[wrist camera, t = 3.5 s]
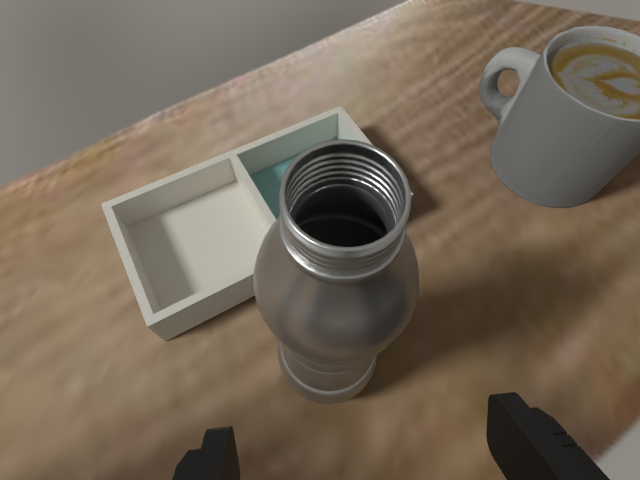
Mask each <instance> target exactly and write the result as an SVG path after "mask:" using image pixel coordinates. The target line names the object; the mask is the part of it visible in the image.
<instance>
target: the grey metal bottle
mask: <svg viewBox="0 0 640 480" xmlns="http://www.w3.org/2000/svg"><path fill="white" fill-rule="evenodd" d="M279 206H280V213H279V218H278V219H277V220H276V221H275V222H274V223H273V224H272V226H271V227H270V229H269V230H268V232H267V233H266V235H265V237H264V239H263V242H262V244H261V247H260V249H259V252H258V255H257V257H256V262H255V267H254V273H253V283H254V293H255V298H256V302H257V306H258V308H259V310H260V312H261V314H262V317H263V319H264V321H265V322H266V324H267V325H268V327H269V328H270V330H271V331H272V332H273V334H274V335H275V336H276V338H277V339H278V340H279V342H278V360H279V364H280V368H281V371H282V373H283V375H284V377H285V379H286V380H287V382H288V383H289V385H290V386H291V387H292V388H293V389H294V390H295V391H296V392H297V393H298V394H300V395H301V396H303V397H305V398H306V399H308V400H311V401H314V402H317V403H323V404H333V403H340V402H343V401H346V400H349V399H350V398H352V397H354V396H355V395H357V394H358V393H359V392H360V391H361V390H362V389H363V388H364V387H365V386H366V385H367V383H368V382H369V381H370V379H371V377H372V375H373V373H374V370H375V367H376V363H377V357H378V353H380V352H381V351H383V350H384V349H386V348H387V347H388V346H389V345H390V344H391V343H392V342H393V341H394V340H395V339H396V338H397V337H398V336H399V335H401V333H402V332H403V330H404V329H405V328H406V326H407V325H408V323H409V322H410V320H411V318H412V315H413V313H414V311H415V308H416V306H417V301H418V295H419V270H418V263H417V258H416V254H415V250H414V248H413V245H412V243H411V241H410V239H409V237H408V235H407V234H406V223H407V221H408V218H409V214H410V209H411V190H410V186H409V182H408V179H407V177H406V175H405V173H404V171H403V169H402V168H401V167H400V166H399V164H398V163H397V162H396V161H395V160H394V159H393V158H392V157H391V156H390V155H389V154H387V153H386V152H384V151H383V150H381V149H379V148H378V147H375V146H373V145H371V144H368V143H365V142H361V141H357V140H347V139H338V140H329V141H325V142H321V143H318V144H316V145H313V146H311V147H309V148H307V149H306V150H304V151H303V152H301V153H300V154H299V155H298V156H297V157H296V158H294V159H293V160H292V162H291V163H290V164H289V166H288V167H287V169H286V170H285V173H284V175H283V178H282V180H281V186H280V192H279Z"/></svg>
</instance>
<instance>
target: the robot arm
mask: <svg viewBox="0 0 640 480" xmlns="http://www.w3.org/2000/svg"><path fill="white" fill-rule="evenodd" d="M487 442H488V446H489V449H490V452H491V454H492V456H493V458H494V460H495V461H496V463H497V465H498V466H499V468H500V469H501V471H502V473H503V474H504V476H505V477H506V479H507V480H610V479H609V478H608V477H607V476H606V475H605V474H604V473H603V472H602V471H601V469H600V468H599V467H598V466H597V465H596V464H595V463H594V462H593V461H592V460H591V458H590V457H589V456H588V455H587V454H586V453H585V452H584V451H583V450H582V449H581V448H580V446H577V443H576V442H575V441H574V440H573V439H572V438H571V437H570V435H567V433H566V431H565V430H564V429H563V428H562V427H561V426H560V424H559V423H558V422H557V421H556V420H555V419H554V418H553V417H551V416H549V415H548V414H546V413H545V412H543V411H542V410H540V409H538V408H537V407H535V408H530V407H529V406H528V405H527V404H526V403H525V402H524V401H523V399H522V398H521V397H520V396H519V395H518V394H517V393H515V392H511V393H503V394H495V395H490V396H489V399H488V416H487ZM173 480H240V469H239V462H238V456H237V450H236V444H235V438H234V432H233V428H232V426H229V427H221V428H213V429H207V430H206V432H205V435H204V439H203V443H202V447H201V449H196V450H188V452H187V453H186V454H185V456H184V457H183V458H182V460H181V461H180V462H179V464H178V465H177V467H176V470H175V473H174V476H173Z"/></svg>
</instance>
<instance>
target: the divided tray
mask: <svg viewBox="0 0 640 480" xmlns="http://www.w3.org/2000/svg"><path fill="white" fill-rule="evenodd" d="M338 139H347V140H357V141H361V142H365V143H368V144H371V145H372V143H371V142H370V141H369V140H368V138H367V137H366V136H365V135H364V134H363V132H362V131H361V130H360V129H359V128H358V126H357V125H356V124H355V123H354V122H353V120H352V119H351V118H350V117H349V115H348V114H347V113H346V112H345V111H344V109H343V108H342V107H341V106H339V107H336V108H334V109H332V110H329V111H327V112H324V113H322V114H319V115H317V116H314V117H312V118H310V119H307V120H305V121H302V122H300V123H297V124H295V125H292V126H290V127H288V128H285V129H283V130H280V131H278V132H275V133H273V134H270V135H268V136H266V137H263V138H261V139H258V140H256V141H253V142H251V143H248V144H246V145H244V146H241V147H239V148H236V149H234V150H231V151H229V152H226V153H224V154H222V155H219V156H217V157H214V158H212V159H209V160H207V161H204V162H202V163H200V164H197V165H195V166H192V167H190V168H187V169H185V170H182V171H180V172H178V173H175V174H173V175H170V176H168V177H165V178H163V179H160V180H158V181H156V182H153V183H151V184H148V185H146V186H143V187H141V188H138V189H136V190H134V191H131V192H129V193H126V194H124V195H121V196H119V197H116V198H114V199H112V200H109V201H107V202H104V203H102V204H101V205H102V208H103V211H104V213H105V216H106V219H107V221H108V224H109V227H110V229H111V232H112V235H113V237H114V240H115V243H116V245H117V248H118V250H119V253H120V256H121V258H122V261H123V264H124V266H125V269H126V272H127V274H128V277H129V280H130V282H131V285H132V288H133V290H134V293H135V296H136V298H137V301H138V304H139V306H140V309H141V312H142V314H143V317H144V320H145V322H146V325H147V327H148V328H149V329H151V330H152V331H153V332H154V333H156V334H157V335H158V336H159V337H161V338H162V339H163V340H164V341H167V340H169V339H171V338H173V337H175V336H177V335H179V334H181V333H183V332H185V331H187V330H189V329H191V328H193V327H195V326H197V325H199V324H201V323H202V322H204V321H206V320H208V319H210V318H212V317H214V316H216V315H218V314H220V313H222V312H224V311H226V310H228V309H230V308H232V307H234V306H236V305H238V304H240V303H241V302H243V301H245V300H247V299H249V298H251V297H253V296H255V293H254V283H253V273H254V267H255V262H256V257H257V255H258V252H259V249H260V247H261V244H262V242H263V239H264V237H265V235H266V233H267V232H268V230H269V229H270V227H271V226H272V224H273V223H274V222H275V221H276V220H277V219H278V218H279V213H280V206H279V192H280V186H281V180H282V178H283V175H284V173H285V170H286V169H287V167H288V166H289V164H290V163H291V162H292V160H293V159H294V158H296V157H297V156H298V155H299V154H300V153H301V152H303V151H304V150H306V149H307V148H309V147H311V146H313V145H316V144H318V143H321V142H325V141H329V140H338ZM412 197H413V193H412V192H411V199H412Z"/></svg>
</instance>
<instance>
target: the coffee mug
mask: <svg viewBox="0 0 640 480" xmlns="http://www.w3.org/2000/svg"><path fill="white" fill-rule="evenodd" d="M506 69H509V70H513V71H515V72H516V73H517V74H518V76H519V79H520V81H519V87H518V90H517V93H516V95H515V96H513V97H506V96H504V95H502V94H501V93H500V91H499V90H498V87H497V80H498V77H499V75H500V73H501V72H502V71H503V70H506ZM479 94H480V98H481V101H482V103H483V104H484V105H485V107H486V108H487V109H488V110H489V111H490V112H491V113H492V114H493V115H494V116H495V117H496V119H497V120H498V123H499V129H498V131H497V134H496V136H495V138H494V140H493V142H492V144H491V148H490V158H491V163H492V166H493V169H494V171H495V172H496V174H497V176H498V177H499V179H500V180H501V181H502V182H503V183H504V184H505V185H506V186H507V187H508V188H509V189H510V190H511V191H513V192H514V193H516V194H517V195H519V196H521V197H522V198H524V199H526V200H528V201H531V202H533V203H536V204H539V205H543V206H547V207H555V208H566V207H574V206H578V205H580V204H583V203H585V202H587V201H589V200H590V199H591V198H593V197H594V196H595V195H596V194H597V193H598V192H599V191H600V190H601V189H602V188H603V187H604V186H605V185H606V184H607V183H609V182H610V181H611V180H612V179H613V178H614V177H615V176H616V175H617V174H618V173H619V172H620V171H621V170H622V169H623V168H624V167H625V166H626V165H628V164H629V163H630V162H631V161H632V160H633V159H634V158H635V157H636V156H637V155H638V154H639V153H640V36H639V35H637V34H634V33H631V32H628V31H625V30H620V29H615V28H610V27H601V26H584V27H575V28H572V29H568V30H566V31H563V32H561V33H559V34H558V35H556V36H555V37H553V38H552V39H551V40H550V41H549V43H548V44H547V45H546V47H545V48H544V50H543V52H542V54H541V55H540V54H537V53H535V52H532V51H530V50H528V49H524V48H519V47H510V48H507V49H504V50H502V51H500V52H499V53H498V54H497V55H495V56H494V57H493V58H492V59H491V60H490V62H489V63H488V65H487V66H486V68H485V70H484V72H483V74H482V76H481V80H480V85H479Z"/></svg>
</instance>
